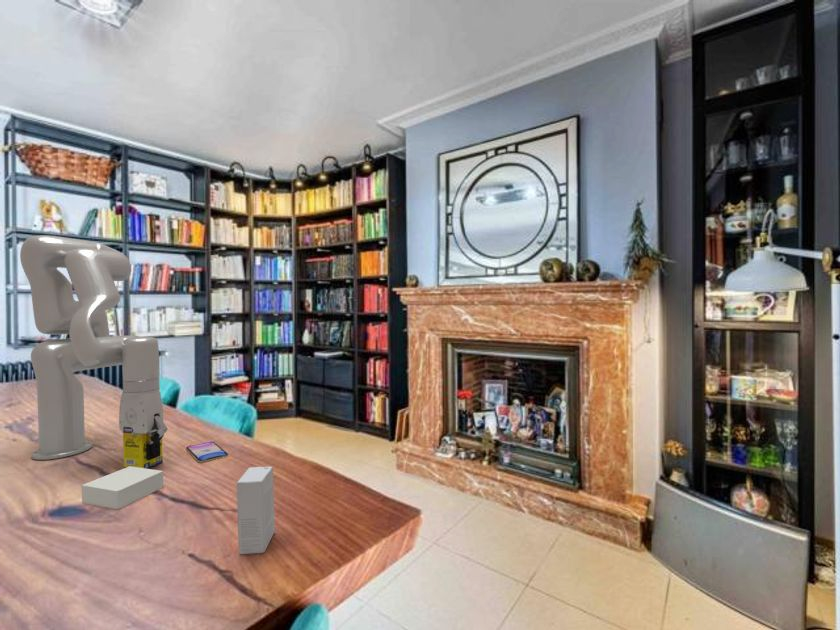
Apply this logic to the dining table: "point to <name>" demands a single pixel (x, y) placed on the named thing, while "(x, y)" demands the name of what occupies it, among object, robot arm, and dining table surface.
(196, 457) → the smartphone
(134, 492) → the white square block
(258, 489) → the skincare box
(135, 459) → the supplement box
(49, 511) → the dining table surface
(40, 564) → the dining table surface
